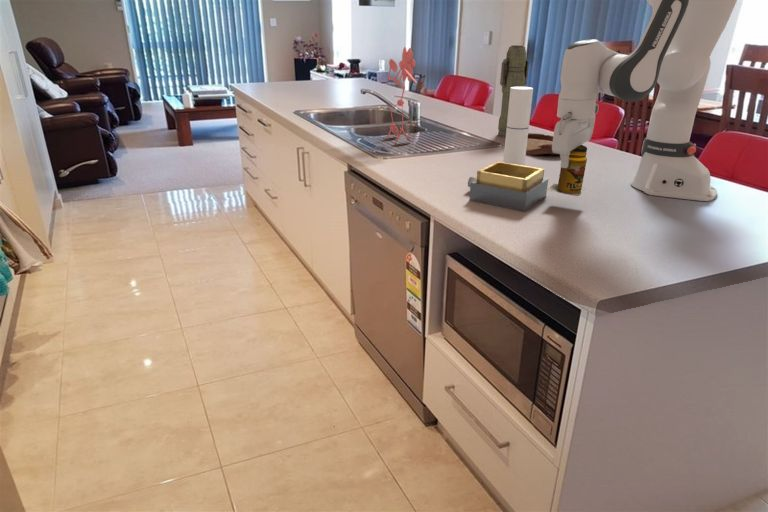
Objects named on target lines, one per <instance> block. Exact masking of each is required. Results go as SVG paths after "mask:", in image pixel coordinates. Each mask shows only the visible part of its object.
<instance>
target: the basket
mask: <svg viewBox="0 0 768 512" xmlns="http://www.w3.org/2000/svg"><path fill="white" fill-rule="evenodd" d="M553 136H554V135H549V134H544V133H543V134H542V133H537V132H536V133H535V132H534V133H533V132H532V133H531V132H530V133H529V132H528V139H527V148H526V155H528V156H538V155H558V154H557V153H553V152H552V142H553Z"/></svg>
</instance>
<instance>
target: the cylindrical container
mask: <svg viewBox="0 0 768 512" xmlns="http://www.w3.org/2000/svg"><path fill="white" fill-rule="evenodd" d="M533 93H534V88H533V87H530V86H525V87H511V88H510V98H509V108H508V118H507V129H506V137H505V141H504V149H503V150H504V151H503V161H502V162H505V163H511V164H517V165H523V166H526V165H525V164H526V156H527V154H526V148H527V139H528V133H529V131H530V130H529V129H530V128H529V127H530V121H531V112H532V104H533V103H532V102H533Z"/></svg>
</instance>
